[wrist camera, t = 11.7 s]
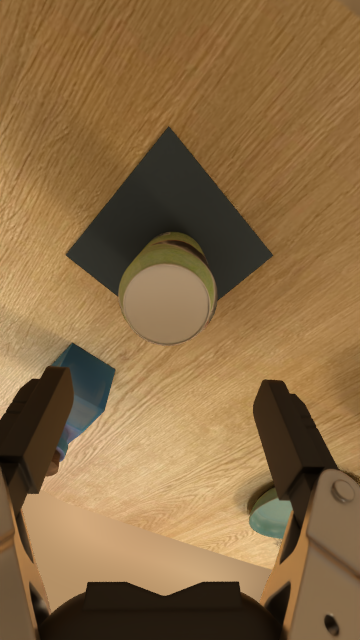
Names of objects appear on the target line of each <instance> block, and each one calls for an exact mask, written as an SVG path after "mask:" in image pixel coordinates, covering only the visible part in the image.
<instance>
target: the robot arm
mask: <svg viewBox="0 0 360 640" xmlns="http://www.w3.org/2000/svg"><path fill="white" fill-rule="evenodd" d="M73 401H74V389H73V384H72V378H71V372H70V368H69V367H57V366H48V367H47V368H46V369H45V371H44V373H43V375H42V376H41V378H40V379H31V380H30V381H29V382H28V383H26V384H25V385H24V386H23V387H22V388H20V390H19V391H18V393H17V394H16V396H15V398H14V399H13V402H12V403H11V404H10V405H9V407H8V409H7V410H6V413H4V415H3V416H2V418H1V420H0V640H360V486H359V485H358V484H357V483H356V482H355V481H354V480H353V479H352V478H351V477H350V476H348V475H347V474H345V473H343V472H341V471H340V470H339V469H338V467H337V465H336V463H335V461H334V459H333V458H332V456H331V454H330V452H329V450H328V448H327V446H326V444H325V442H324V440H323V438H322V436H321V434H320V432H319V430H318V429H317V428H316V425H315V423H314V421H313V419H312V418H311V415H310V413H309V411H308V409H307V407H306V405H305V404H304V403H303V402H302V401H301V400H300V399H299V398H298V397H297V395H296V394H290V393H289V391H288V389H287V387H286V385H285V383H284V382H283V381H282V380H263V381H262V383H261V386H260V388H259V391H258V393H257V396H256V398H255V401H254V404H253V415H254V419H255V423H256V426H257V429H258V433H259V436H260V439H261V443H262V446H263V449H264V452H265V456H266V459H267V462H268V466H269V469H270V472H271V476H272V479H273V482H274V486H275V489H276V492H277V496H278V499H279V501H290V502H291V505H292V508H293V510H292V511H291V513H290V517H289V520H288V523H287V526H286V530H285V533H284V536H283V540H282V543H281V546H280V549H279V553H278V556H277V559H276V562H275V565H274V568H273V570H272V572H271V574H270V576H269V578H268V580H267V583H266V585H265V588H264V590H263V593H262V597H261V599H260V603H258V602H257V601H256V600H254V599H253V598H251V597H250V596H247V595H246V594H244V593H242V592H240V586H239V582H201V583H199V584H196V585H194V586H191V587H188V588H186V589H183V590H181V591H178V592H176V593H173V594H171V595H167V596H162V595H159V594H156V593H153V592H151V591H148V590H146V589H143V588H141V587H138V586H135V585H133V584H130V583H128V582H88V583H87V588H86V592H84V593H82V594H79V595H77V596H75V597H73V598H72V599H70V600H68V601H67V602H65V603H64V604H62V605H61V606H60V607H59V608H57V609H56V610H55V611H54V612H53V613H51V609H50V606H49V602H48V598H47V594H46V591H45V587H44V584H43V581H42V578H41V576H40V573H39V571H38V567H37V564H36V561H35V557H34V553H33V549H32V545H31V542H30V538H29V534H28V531H27V526H26V523H25V519H24V515H23V511H22V505H23V503H24V500H25V498H26V496H27V494H39V491H40V489H41V486H42V484H43V481H44V478H45V476H46V473H47V471H48V468H49V466H50V463H51V460H52V458H53V455H54V453H55V450H56V448H57V445H58V442H59V440H60V437H61V435H62V432H63V430H64V427H65V424H66V422H67V419H68V417H69V414H70V412H71V409H72V406H73Z"/></svg>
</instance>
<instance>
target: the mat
mask: <svg viewBox="0 0 360 640" xmlns="http://www.w3.org/2000/svg"><path fill="white" fill-rule="evenodd" d="M166 232H179V233H183V234H185V235H188V236H190V237H191V238H193V239H194V240H195V241H196V242H197V243H198V244H199V246H200V247H201V249H202V251H203V253H204V255H205V258H206V260H207V263H208V265H209V268H210V270H211V272H212V275H213V277H214V280H215V283H216V287H217V295H218V299H217V301H218V300H219V299H220V298H222V297H223V296H224V295H225V294H226V293H228V292H229V291H230V290H231V289H233V288H234V287H235V286H236V285H238V284H239V283H240V282H241V281H242V280H244V279H245V278H246V277H247V276H249V275H250V274H251V273H252V272H254V271H255V270H256V269H257V268H259V267H260V266H261V265H262V264H263V263H265V262H266V261H267V260H268V259H270V258H271V257H272V256H273V255H272V253H271V252H270V251H269V250H268V249H267V247H266V246H265V245H264V244H263V242H262V241H261V240H260V239H259V237H258V236H257V235H256V234H255V232H254V231H253V230H252V229H251V227H250V226H249V225H248V224H247V222H246V221H245V220H244V219H243V217H242V216H241V215H240V214H239V213H238V211H237V210H236V209H235V208H234V206H233V205H232V204H231V203H230V201H229V200H228V199H227V198H226V196H225V195H224V194H223V193H222V191H221V190H220V189H219V188H218V186H217V185H216V184H215V183H214V182H213V180H212V179H211V178H210V177H209V175H208V174H207V173H206V172H205V170H204V169H203V168H202V167H201V165H200V164H199V163H198V162H197V160H196V159H195V158H194V157H193V155H192V154H191V153H190V152H189V151H188V149H187V148H186V147H185V146H184V144H183V143H182V142H181V141H180V139H179V138H178V137H177V136H176V134H175V133H174V132H173V131H172V129H171V128H170V127H168V128H167V129H166V131H165V132H164V133H163V134H162V136H161V137H160V138H159V139H158V141H157V142H156V143H155V144H154V146H153V147H152V148H151V149H150V150H149V152H148V153H147V154H146V155H145V157H144V158H143V159H142V160H141V162H140V163H139V164H138V165H137V167H136V168H135V169H134V170H133V172H132V173H131V174H130V175H129V177H128V178H127V179H126V180H125V182H124V183H123V184H122V185H121V187H120V188H119V189H118V190H117V192H116V193H115V194H114V195H113V197H112V198H111V199H110V200H109V202H108V203H107V204H106V205H105V207H104V208H103V209H102V210H101V212H100V213H99V214H98V215H97V217H96V218H95V219H94V220H93V222H92V223H91V224H90V225H89V227H88V228H87V229H86V230H85V232H84V233H83V234H82V235H81V237H80V238H79V239H78V240H77V242H76V243H75V244H74V245H73V247H72V248H71V249H70V250H69V252H68V253H67V254H66V256H67V257H69V258H70V259H71V260H72V261H74V262H75V263H76V264H77V265H79V266H80V267H81V268H82V269H84V270H85V271H86V272H88V273H89V274H90V275H91V276H93V277H94V278H95V279H96V280H98V281H99V282H100V283H102V284H103V285H104V286H105V287H107V288H108V289H109V290H110V291H112V292H113V293H114V294H116V295H117V296H118V297H119V295H118V293H119V285H120V282H121V279H122V276H123V274H124V272H125V271H126V269H127V268H128V266H129V265H130V264H131V263H132V262H133V260H134V259H135V258H136V257H137V256H138V255H139V253H140V252H141V251H142V250H143V249H144V248H145V246H146V245H147V244H148V243H149V242H150V241H151V240H152V239H153V238H154V237H156V236H158V235H160V234H163V233H166Z"/></svg>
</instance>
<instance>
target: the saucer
mask: <svg viewBox="0 0 360 640" xmlns="http://www.w3.org/2000/svg"><path fill="white" fill-rule="evenodd" d="M292 510H293V508H292V505H291V502H290V501H279V499H278V496H277V492H276V489H275V487H274V488H272V489H270V490H268V491H267V492H265V493H264V494H263V495H262V496H261V497H260V498H259V499H258V500H257V502H256V503H255V505H254V506H253V508H252V510H251V513H250V518H249V524H250V526H251V528H252V529H253V530H254V531H256V532H257V533H259V534H262V535H264V536H268V537H273V538H279V539H283V536H284V533H285V530H286V526H287V523H288V520H289V517H290V513H291V511H292Z"/></svg>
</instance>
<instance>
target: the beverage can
mask: <svg viewBox="0 0 360 640" xmlns="http://www.w3.org/2000/svg"><path fill="white" fill-rule="evenodd" d="M118 295H119V304H120V308H121V311H122V314H123V316H124V318H125V319H126V321H127V322H128V324H129V325H130V327H131V328H132V330H133V331H134V332H135V333H136V334H137V335H139V336H140V337H141V338H143V339H144V340H146V341H148V342H151V343H153V344H157V345H162V346H173V345H179V344H182V343H185V342H187V341H189V340H191V339H192V338H194V337H195V336H197V335H198V334H199V333H200V332H201V331H202V330H204V329H205V328H206V326H207V325H208V324H209V322H210V321H211V319H212V317H213V315H214V313H215V310H216V307H217V299H218V295H217V287H216V283H215V280H214V277H213V275H212V272H211V270H210V268H209V265H208V263H207V260H206V258H205V255H204V253H203V251H202V249H201V247H200V246H199V244H198V243H197V242H196V241H195V240H194V239H193V238H191V237H190V236H188V235H185V234H183V233H179V232H166V233H163V234H160V235H158V236H156V237H154V238H153V239H152V240H151V241H150V242H149V243H148V244H147V245H146V246H145V248H144V249H143V250H142V251H141V252H140V253H139V255H138V256H137V257H136V258H135V259H134V260H133V262H132V263H131V264H130V265H129V266H128V268H127V269H126V271H125V272H124V274H123V276H122V279H121V282H120V285H119V293H118Z"/></svg>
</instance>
